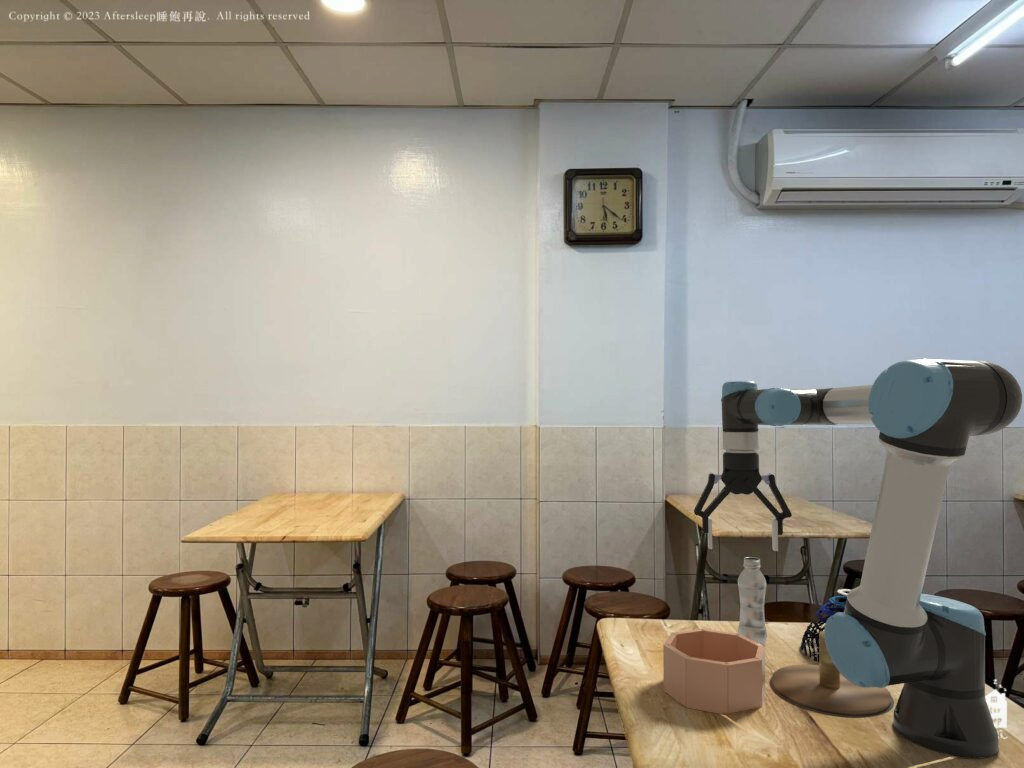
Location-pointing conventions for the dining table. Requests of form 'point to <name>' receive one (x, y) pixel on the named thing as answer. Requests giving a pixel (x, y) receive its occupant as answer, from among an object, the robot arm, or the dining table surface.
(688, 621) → the dining table surface
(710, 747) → the dining table surface
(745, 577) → the plastic bottle
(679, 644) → the bowl
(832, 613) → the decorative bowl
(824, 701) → the lid
